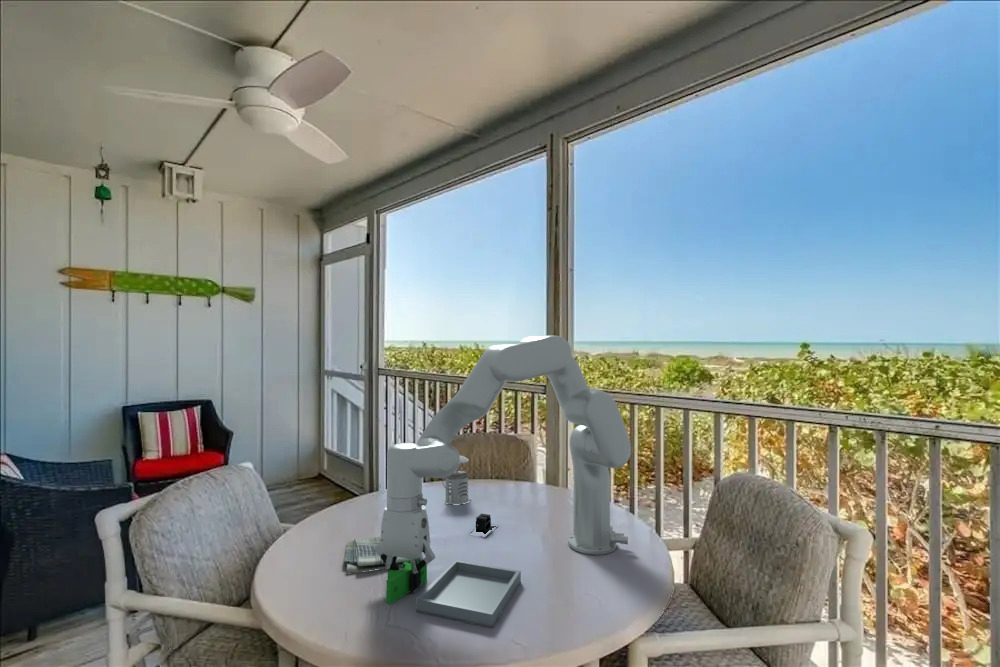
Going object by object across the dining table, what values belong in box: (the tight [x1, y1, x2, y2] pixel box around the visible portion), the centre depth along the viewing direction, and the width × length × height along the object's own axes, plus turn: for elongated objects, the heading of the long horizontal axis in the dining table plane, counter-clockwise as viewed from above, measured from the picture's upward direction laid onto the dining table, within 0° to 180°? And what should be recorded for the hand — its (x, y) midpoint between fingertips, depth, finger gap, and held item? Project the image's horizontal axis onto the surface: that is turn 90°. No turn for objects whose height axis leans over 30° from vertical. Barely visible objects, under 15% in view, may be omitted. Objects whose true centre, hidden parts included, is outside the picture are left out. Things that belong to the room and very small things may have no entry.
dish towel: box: [343, 536, 425, 575], centre depth 117 cm, size 19×18×3 cm
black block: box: [475, 513, 496, 534], centre depth 132 cm, size 12×7×5 cm, turn 158°
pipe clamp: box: [385, 562, 428, 605], centre depth 100 cm, size 11×4×5 cm, turn 148°
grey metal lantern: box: [442, 454, 471, 504], centre depth 158 cm, size 10×12×25 cm
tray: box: [415, 559, 522, 629], centre depth 97 cm, size 16×18×2 cm
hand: (404, 586), depth 100 cm, fingers closed on pipe clamp, 4 cm apart
